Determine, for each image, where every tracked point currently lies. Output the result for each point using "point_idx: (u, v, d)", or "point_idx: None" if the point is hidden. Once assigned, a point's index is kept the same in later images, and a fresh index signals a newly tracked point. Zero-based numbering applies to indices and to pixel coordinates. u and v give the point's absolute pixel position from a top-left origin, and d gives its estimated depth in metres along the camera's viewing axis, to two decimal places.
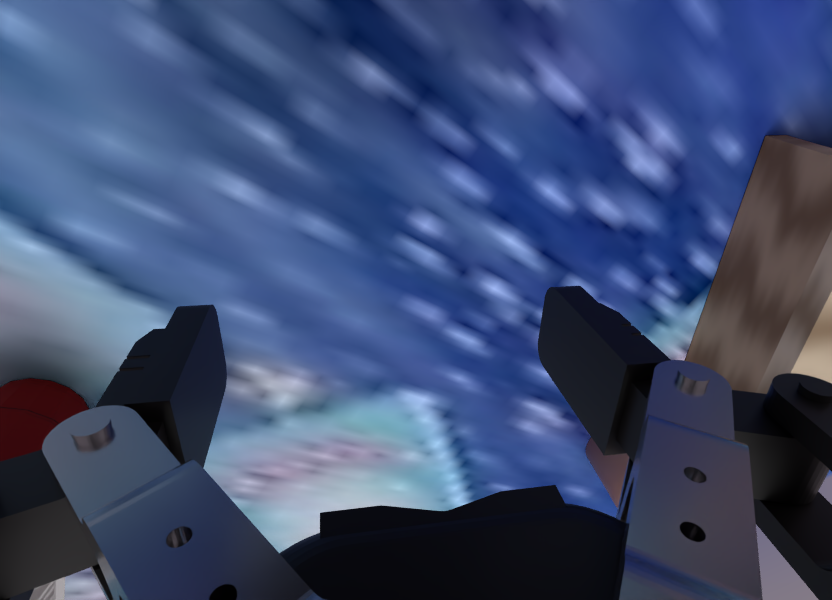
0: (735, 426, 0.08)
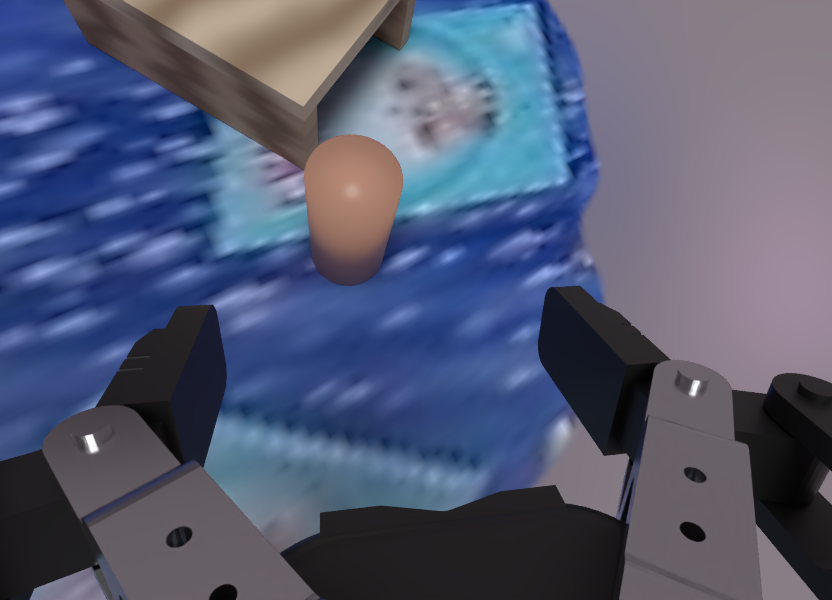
0: (735, 426, 0.08)
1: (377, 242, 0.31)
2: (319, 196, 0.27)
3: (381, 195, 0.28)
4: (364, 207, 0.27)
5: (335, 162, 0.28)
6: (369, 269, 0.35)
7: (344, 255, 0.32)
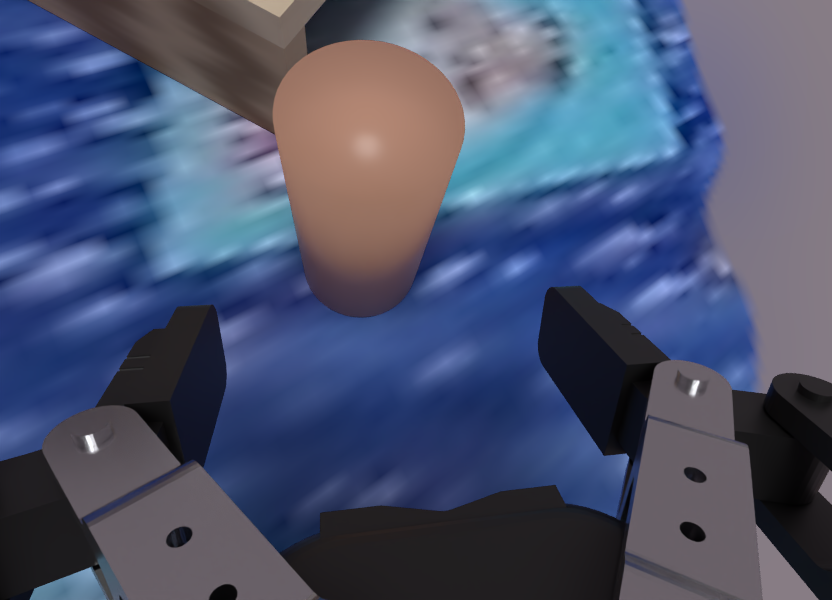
0: (735, 426, 0.08)
1: (413, 244, 0.17)
2: (302, 151, 0.14)
3: (425, 149, 0.14)
4: (393, 170, 0.14)
5: (333, 88, 0.14)
6: (396, 291, 0.22)
7: (356, 269, 0.18)
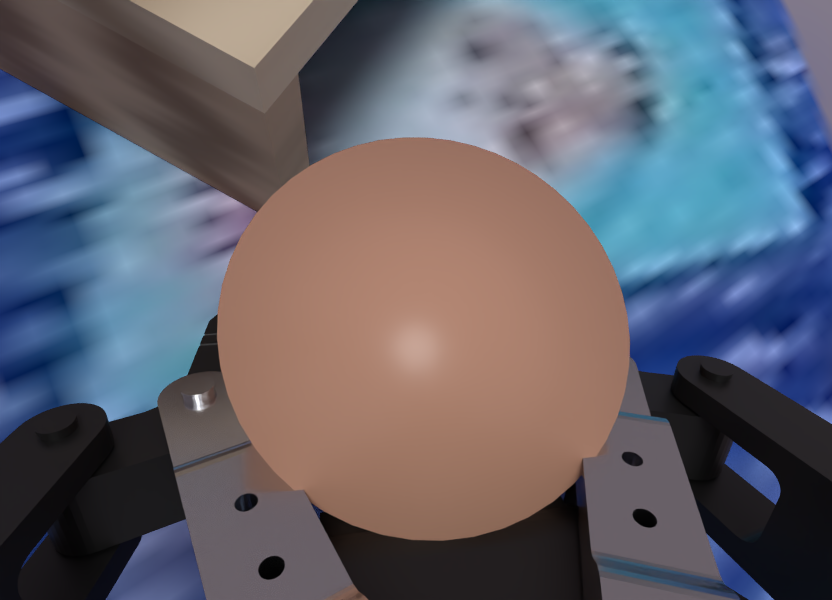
0: None
1: None
2: (284, 416, 0.06)
3: (552, 390, 0.06)
4: (488, 452, 0.06)
5: (353, 250, 0.07)
6: None
7: None
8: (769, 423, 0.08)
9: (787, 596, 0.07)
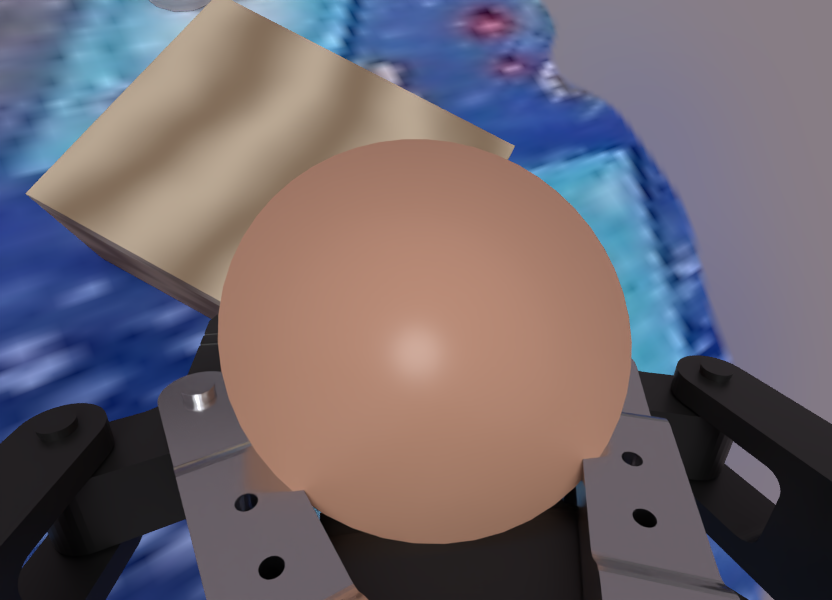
0: None
1: None
2: (285, 419, 0.06)
3: (554, 392, 0.06)
4: (489, 455, 0.06)
5: (354, 252, 0.07)
6: None
7: None
8: (769, 423, 0.08)
9: (787, 596, 0.07)
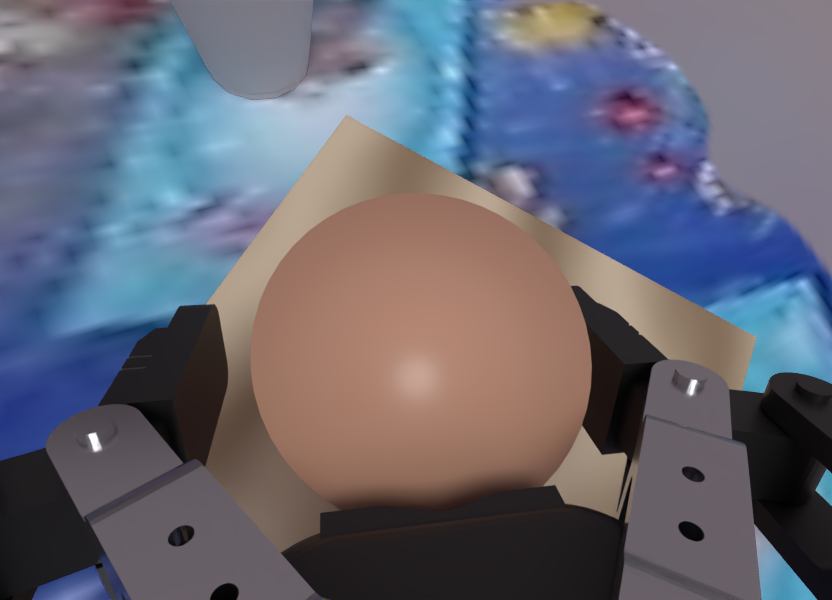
0: (732, 425, 0.08)
1: None
2: (306, 432, 0.07)
3: (526, 408, 0.08)
4: (472, 460, 0.07)
5: (360, 291, 0.08)
6: None
7: None
8: None
9: None
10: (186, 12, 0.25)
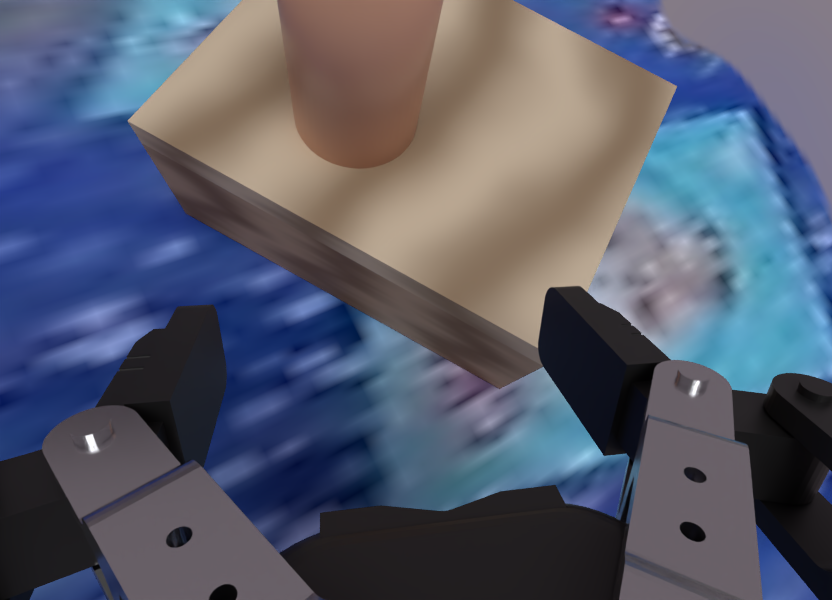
0: (735, 426, 0.08)
1: (416, 22, 0.15)
2: None
3: None
4: None
5: None
6: (396, 124, 0.19)
7: (350, 60, 0.16)
8: None
9: None
10: None
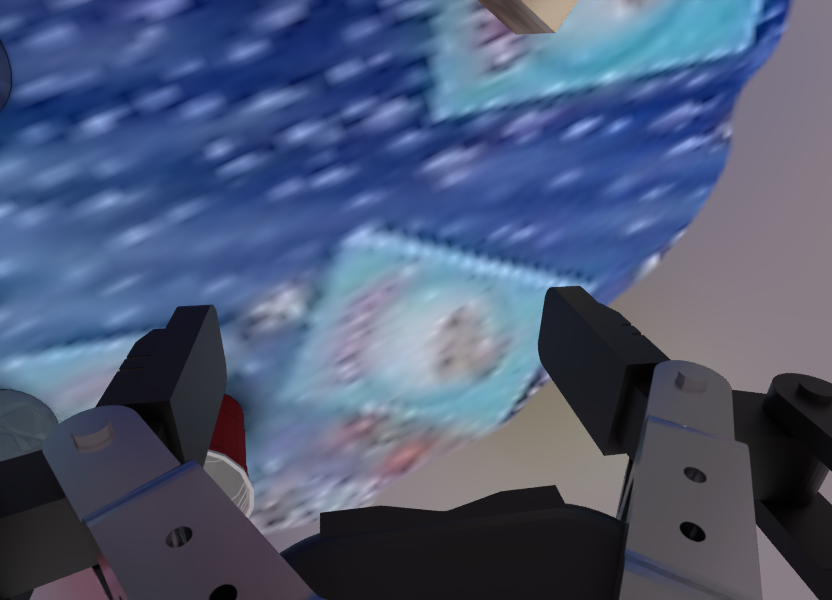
0: (735, 426, 0.08)
1: None
2: None
3: None
4: None
5: None
6: None
7: None
8: None
9: None
10: None
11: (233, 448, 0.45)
